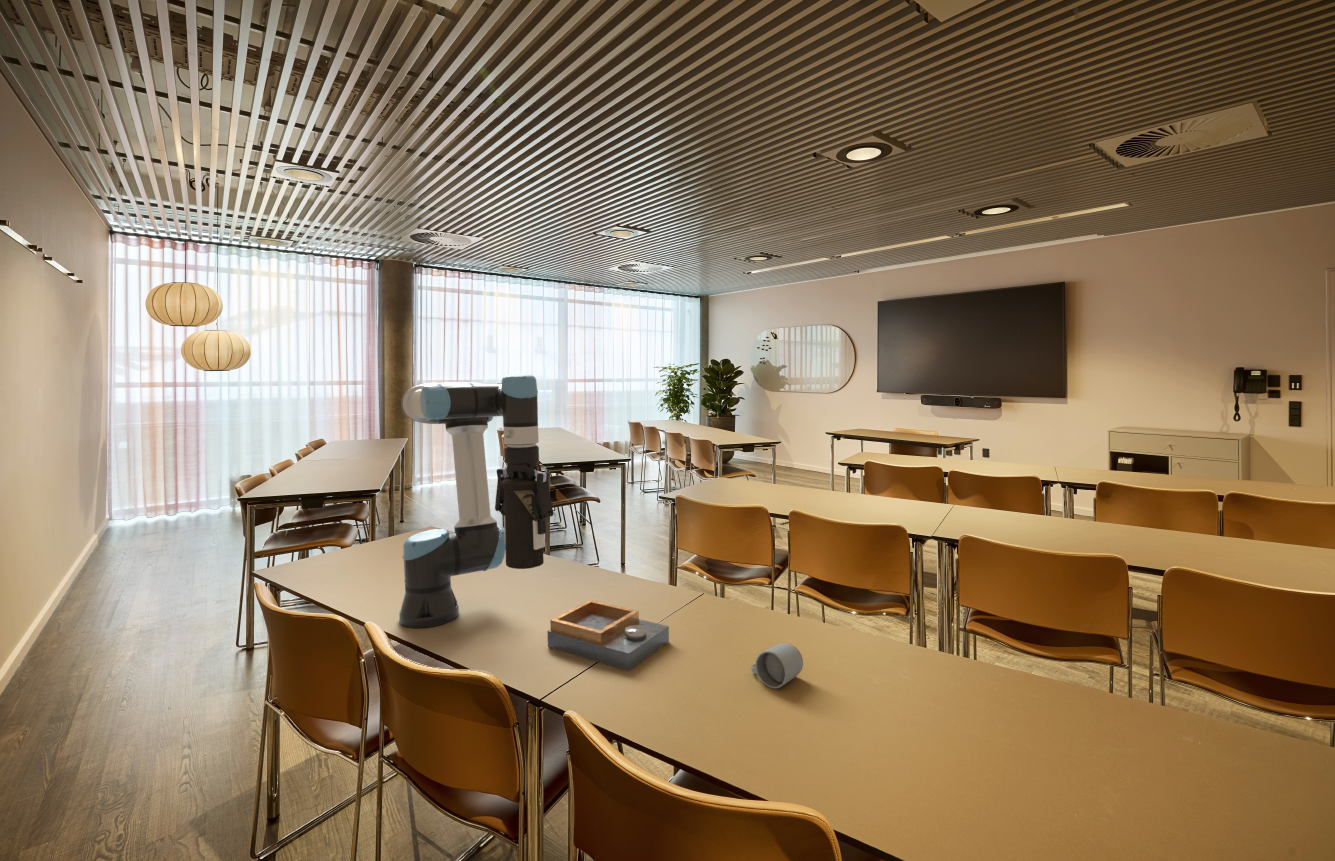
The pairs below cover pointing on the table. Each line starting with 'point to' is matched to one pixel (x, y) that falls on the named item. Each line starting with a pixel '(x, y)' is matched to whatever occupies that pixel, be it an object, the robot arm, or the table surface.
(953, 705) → the table surface
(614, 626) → the framed panel with knob
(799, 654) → the ceramic mug
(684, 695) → the table surface
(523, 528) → the container
